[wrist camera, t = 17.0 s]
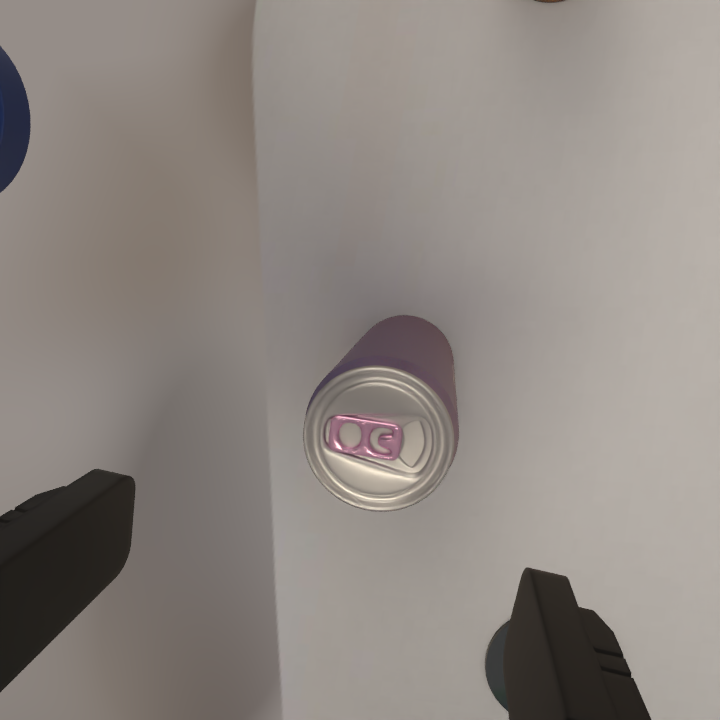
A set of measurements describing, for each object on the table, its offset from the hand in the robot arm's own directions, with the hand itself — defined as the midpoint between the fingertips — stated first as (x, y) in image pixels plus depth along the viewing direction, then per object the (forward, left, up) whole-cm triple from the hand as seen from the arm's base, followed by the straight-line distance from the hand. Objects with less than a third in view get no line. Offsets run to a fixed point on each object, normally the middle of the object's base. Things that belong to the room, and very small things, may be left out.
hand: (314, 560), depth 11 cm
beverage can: (0, -1, -25) cm, 25 cm away
